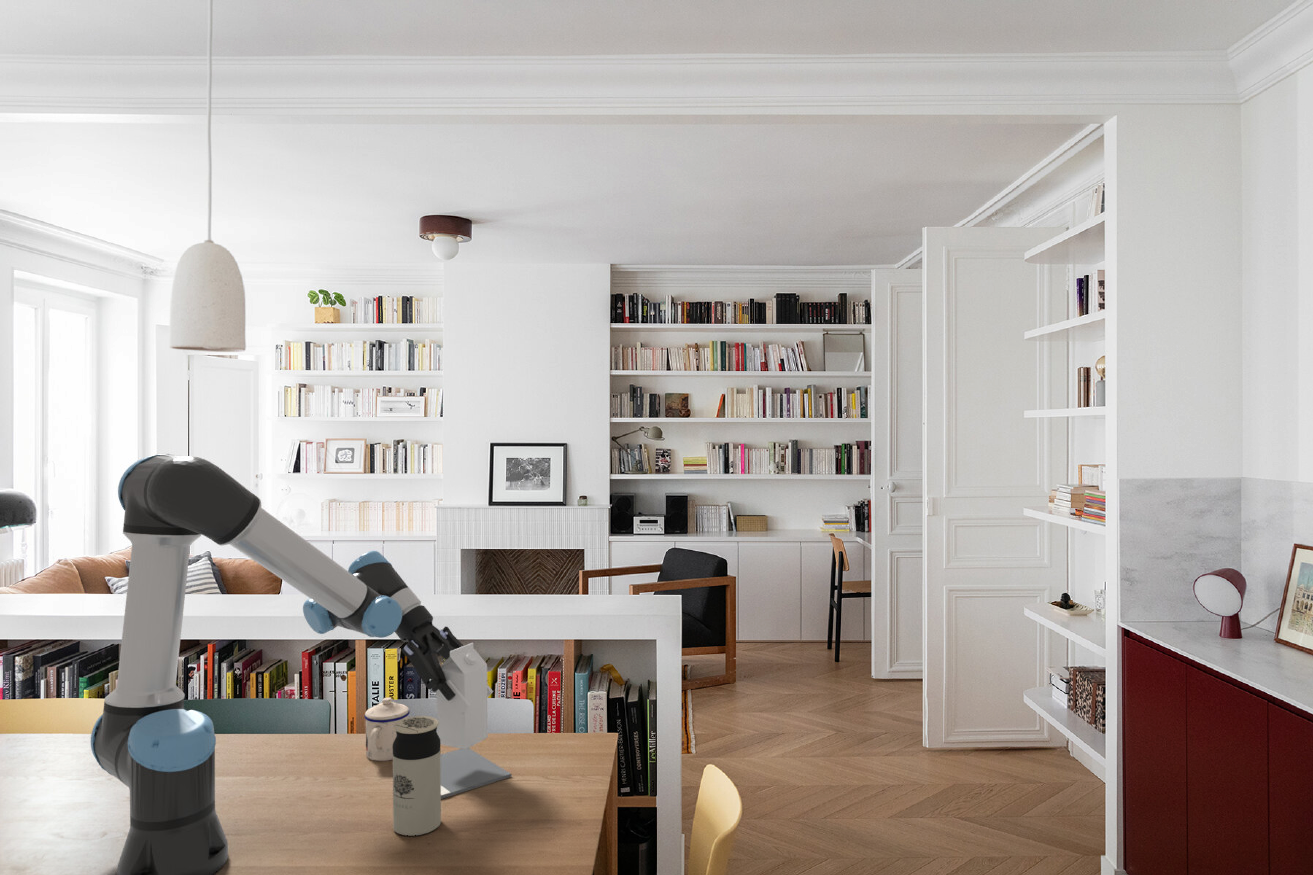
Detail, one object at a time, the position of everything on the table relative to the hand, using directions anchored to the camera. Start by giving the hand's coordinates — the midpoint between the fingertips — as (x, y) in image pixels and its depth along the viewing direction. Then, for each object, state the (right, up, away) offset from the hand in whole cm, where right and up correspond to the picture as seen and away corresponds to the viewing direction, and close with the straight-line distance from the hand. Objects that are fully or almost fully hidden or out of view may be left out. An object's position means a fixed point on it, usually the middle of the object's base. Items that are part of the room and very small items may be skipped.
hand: (477, 702), depth 168 cm
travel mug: (-6, -15, -21) cm, 26 cm away
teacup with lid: (-21, -14, +10) cm, 28 cm away
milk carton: (-3, -8, +1) cm, 9 cm away
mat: (-5, -14, +1) cm, 15 cm away
